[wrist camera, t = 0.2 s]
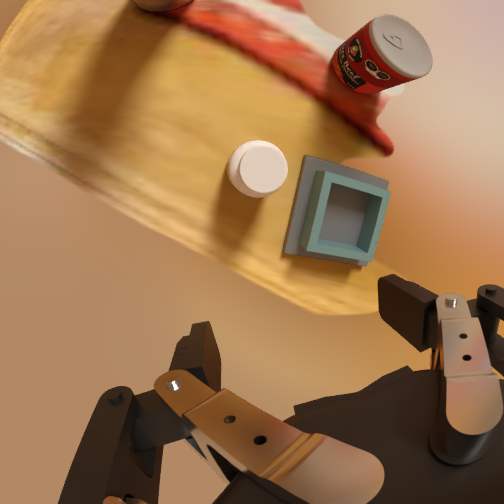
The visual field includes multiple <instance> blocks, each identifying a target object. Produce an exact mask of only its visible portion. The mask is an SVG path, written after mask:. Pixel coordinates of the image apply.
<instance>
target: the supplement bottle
mask: <svg viewBox="0 0 504 504" xmlns="http://www.w3.org/2000/svg"><path fill="white" fill-rule="evenodd" d="M226 173H227V177H228V179H229V181H230V182H231V184H232V185H233V186H234V187H235V188H236V189H237V190H239V191H240V192H241V193H243V194H245V195H247V196H250V197H255V198H261V197H267V196H269V195H271V194H273V193H275V192H276V191H277V190H278V189H279V188H280V187H281V186H282V185H283V183H284V181H285V180H286V177H287V173H288V166H287V162H286V159H285V157H284V155H283V153H282V152H281V151H280V150H279V149H278V148H277V147H276V146H275V145H273V144H271V143H269V142H266V141H261V140H255V141H250V142H247V143H244V144H243V145H241V146H240V147H238V148H237V149H236V150H235V151H234V152H233V153H232V154H231V155H230V157H229V158H228V161H227V164H226Z"/></svg>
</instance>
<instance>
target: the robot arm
mask: <svg viewBox="0 0 504 504" xmlns="http://www.w3.org/2000/svg"><path fill="white" fill-rule="evenodd" d="M190 1H192V0H135V2H136V4H137V5H138V6H139V7H140V8H142V9H144V10H147V11H151V12H163V11H169V10H173V9H176V8H179V7H181V6H183V5H186V4H187V3H189V2H190ZM378 303H379V313H380V316H381V318H382V319H383V320H384V321H385V322H386V323H387V324H388V325H390V326H391V327H392V328H393V329H394V330H395V331H397V332H398V333H399V334H400V335H401V336H402V337H403V338H405V339H406V340H407V341H408V342H409V343H410V344H411V345H413V346H414V347H415V348H416V349H417V350H418V351H419V352H422V351H425V350H427V349H429V348H432V349H431V356H430V370H420V371H414V372H413V371H412V370H411V369H410V368H409V367H408V366H405V367H403V368H400V369H399V370H396V371H394V372H392V373H389V374H387V375H384V376H382V377H381V378H379V379H378V380H377V381H375V382H373V383H372V384H370V385H369V386H367V387H365V388H364V389H362V390H360V391H358V392H355V393H349V394H343V395H336V396H330V397H323V398H320V399H317V400H313V401H310V402H306V403H302V404H299V405H295V406H294V411H295V415H293V416H291V417H289V418H288V419H286V420H284V421H281V420H279V419H277V418H275V417H273V416H271V415H270V414H268V413H266V412H264V411H263V410H261V409H259V408H257V407H256V406H254V405H252V404H250V403H249V402H247V401H246V400H244V399H242V398H241V397H239V396H237V395H236V394H234V393H232V392H231V391H229V390H227V389H225V388H224V389H221V358H220V353H219V349H218V346H217V343H216V340H215V337H214V334H213V331H212V327H211V324H210V322H209V321H206V322H201V323H195V324H192V328H191V332H190V335H189V336H183V337H182V338H181V340H180V341H179V342H178V343H177V345H176V349H175V352H174V356H173V358H172V362H171V365H170V368H169V372H166V373H164V374H162V375H161V376H159V377H158V378H157V379H156V381H155V383H154V389H153V390H151V391H148V392H145V393H142V394H138V395H134V393H133V391H132V390H131V389H130V388H128V387H126V386H118V387H114V388H112V389H109V390H108V391H106V392H105V393H104V394H102V396H101V397H100V399H99V401H98V403H97V405H96V407H95V409H94V412H93V414H92V416H91V418H90V421H89V423H88V425H87V428H86V430H85V432H84V435H83V437H82V439H81V442H80V444H79V447H78V449H77V452H76V454H75V457H74V459H73V462H72V465H71V467H70V470H69V473H68V476H67V478H66V481H65V484H64V487H63V490H62V492H61V495H60V499H59V502H58V504H158V496H159V483H160V473H161V464H162V454H163V446H164V445H165V444H168V443H171V442H175V441H178V440H181V439H183V440H184V441H185V442H186V443H187V444H188V445H189V446H190V447H191V448H192V449H193V450H194V451H195V452H196V453H197V454H198V455H199V456H200V457H201V458H202V459H203V460H204V461H205V462H206V463H207V464H208V465H209V466H210V467H211V468H212V469H213V470H214V471H215V472H216V473H217V475H218V476H219V477H220V478H221V479H222V480H223V481H224V482H225V483H226V484H227V485H228V486H227V487H226V488H225V489H224V491H223V492H222V493H221V494H220V495H219V496H218V497H217V499H216V500H215V501H214V502H213V503H212V504H504V380H502V379H498V376H497V374H496V373H493V372H492V369H491V366H492V367H493V368H494V369H496V370H497V371H498V372H499V373H500V374H502V376H504V338H502V337H501V336H500V335H498V334H497V330H498V325H499V321H500V319H501V320H503V321H504V289H503V288H501V287H499V286H497V285H490V284H489V285H483V286H481V287H479V288H478V291H477V298H476V299H473V300H469V301H466V299H465V297H463V296H462V295H459V294H455V293H448V294H443V295H441V296H438V295H436V294H435V293H432V292H431V291H429V290H427V289H426V290H425V288H423V287H420V285H418V284H416V283H414V282H410V281H406V280H404V279H402V278H400V277H398V276H396V275H395V274H391V275H388V276H385V277H381V278H379V280H378Z"/></svg>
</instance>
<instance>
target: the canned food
mask: <svg viewBox="0 0 504 504" xmlns="http://www.w3.org/2000/svg"><path fill="white" fill-rule="evenodd" d="M332 65H333V70H334V72H335V74H336V76H337V77H338V79H339V80H340V81H341V82H342V83H343V84H344V85H345V86H346V87H347V88H349V89H351V90H353V91H355V92H358V93H362V94H374V93H376V92H379V91H382V90H385V89H388V88H391V87H394V86H397V85H400V84H403V83H406V82H409V81H412V80H415V79H418V78H421V77H423V76H426V75H427V74H428V73H429V72H430V70H431V68H432V54H431V51H430V49H429V46H428V44H427V42H426V41H425V39H424V37H423V36H422V35H421V34H420V32H419V31H418V30H417V29H416V28H415V27H414V26H412V25H411V24H410V23H409V22H407V21H406V20H404V19H402V18H400V17H398V16H395V15H390V14H384V15H380V16H378V17H376V18H374V19H373V20H371V21H370V22H368V23H367V24H366V25H365V26H363V27H362V28H361V29H360V30H358V31H357V32H356V33H355V34H354V35H352V36H351V37H350V38H349V39H348V40H346V41H345V42H344V43H343V44H342V45H340V46H339V47H338V48H337V49H336V51H335V52H334V55H333V59H332Z"/></svg>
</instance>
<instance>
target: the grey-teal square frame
mask: <svg viewBox="0 0 504 504" xmlns="http://www.w3.org/2000/svg"><path fill="white" fill-rule="evenodd" d="M388 183H389V181H387V180H385V179H382V178H379V177H376V176H373V175H370V174H368V173H365V172H361V171H359V170H356V169H353V168H349V167H346V166H343V165H340V164H337V163H333V162H330V161H326V160H323V159H320V158H316V157H312V156H309V155H304V158H303V163H302V167H301V172H300V177H299V181H298V186H297V190H296V195H295V199H294V204H293V208H292V213H291V217H290V221H289V226H288V230H287V234H286V238H285V243H284V247H283V252H284V253H287V254H293V255H299V256H305V257H312V258H318V259H324V260H330V261H336V262H342V263H348V264H354V265H360V266H367V263H368V262H372V259H373V256H374V252H375V249H376V246H377V243H378V239H379V236H380V232H381V228H382V225H383V221H384V217H385V213H386V209H387V205H388V201H389V196H390V191H387V188H388Z"/></svg>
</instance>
